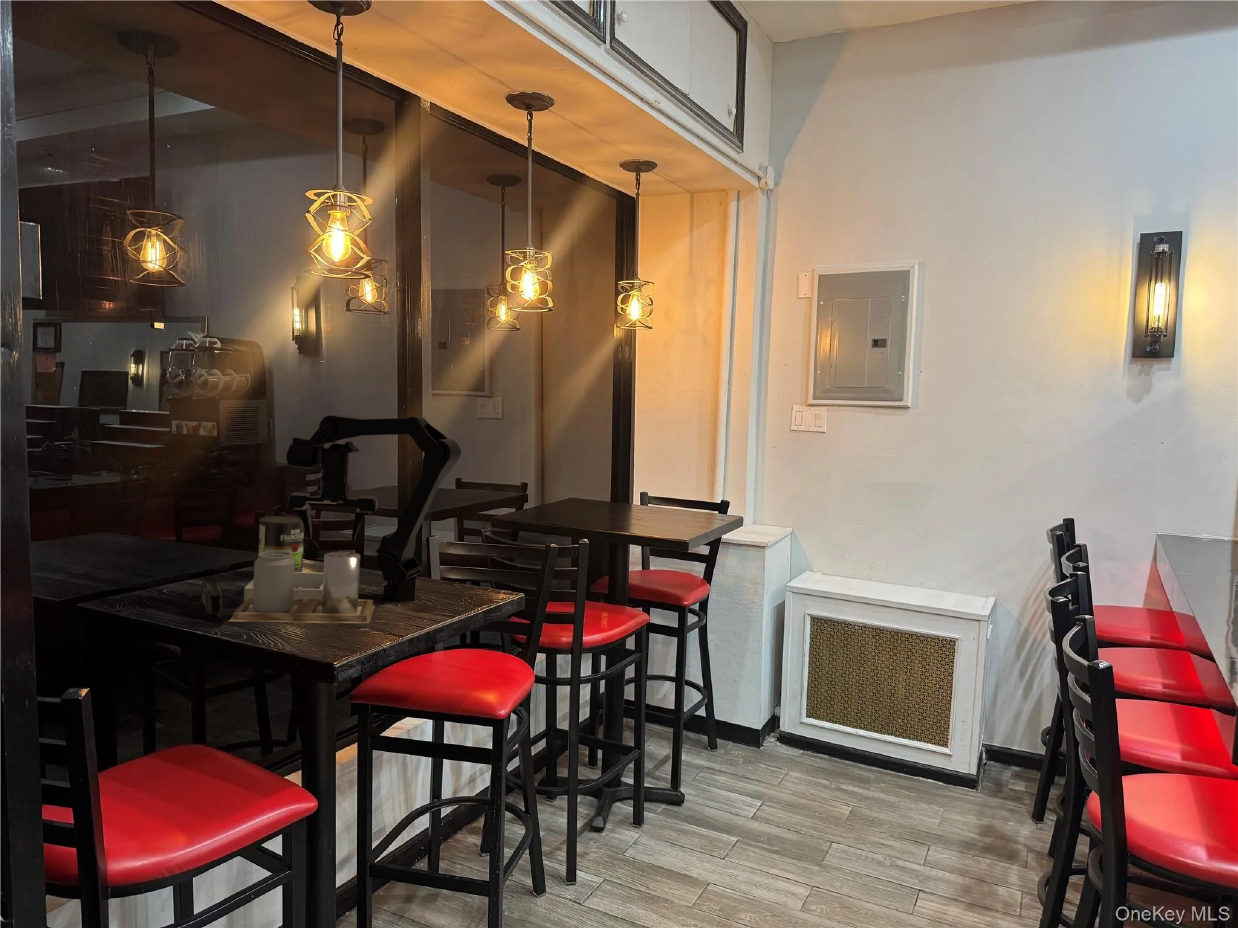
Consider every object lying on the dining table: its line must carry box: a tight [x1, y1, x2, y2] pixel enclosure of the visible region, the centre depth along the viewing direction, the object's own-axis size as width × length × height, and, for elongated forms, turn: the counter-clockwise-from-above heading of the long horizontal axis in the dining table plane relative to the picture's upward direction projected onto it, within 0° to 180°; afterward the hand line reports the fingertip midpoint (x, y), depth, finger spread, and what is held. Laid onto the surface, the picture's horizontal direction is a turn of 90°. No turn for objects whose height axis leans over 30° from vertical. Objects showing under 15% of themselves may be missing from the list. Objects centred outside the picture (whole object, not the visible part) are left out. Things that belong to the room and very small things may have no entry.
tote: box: [243, 571, 323, 602], centre depth 179 cm, size 16×16×4 cm
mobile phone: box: [200, 580, 223, 619], centre depth 166 cm, size 5×3×15 cm
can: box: [253, 551, 295, 613], centre depth 163 cm, size 8×8×12 cm
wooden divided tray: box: [228, 597, 376, 624], centre depth 165 cm, size 26×14×3 cm, turn 102°
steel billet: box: [322, 551, 361, 614], centre depth 166 cm, size 7×7×12 cm
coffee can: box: [258, 515, 305, 572], centre depth 197 cm, size 10×10×14 cm
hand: (331, 539), depth 182 cm, fingers open, 9 cm apart
